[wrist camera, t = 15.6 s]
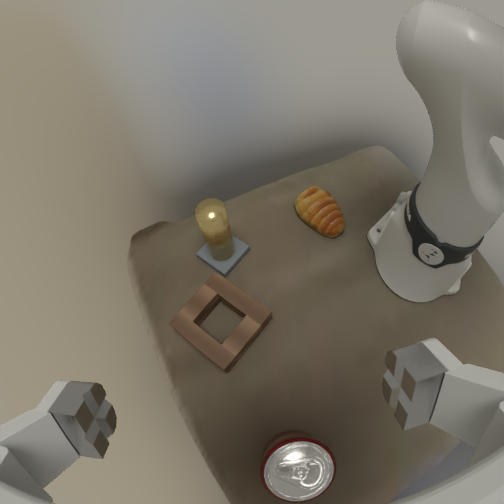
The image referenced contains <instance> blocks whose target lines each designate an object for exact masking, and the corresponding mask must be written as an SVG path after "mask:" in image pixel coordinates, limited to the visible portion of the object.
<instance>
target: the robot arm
mask: <svg viewBox="0 0 504 504" xmlns="http://www.w3.org/2000/svg"><path fill="white" fill-rule="evenodd" d="M396 49H397V55H398V59H399V62H400V65H401V67H402V70H403V72H404V74H405V76H406V77H407V79H408V80H409V81H410V83H411V84H412V85H413V86H414V88H415V89H416V90H417V92H418V93H419V95H420V96H421V98H422V100H423V102H424V104H425V106H426V108H427V111H428V114H429V116H430V120H431V124H432V129H433V135H434V136H433V149H432V154H431V157H430V160H429V163H428V166H427V169H426V172H425V174H424V176H423V178H422V181H421V182H420V183H419V184H418V185H417V186H416V187H415V188H414V190H413V191H408V192H407V193H406V192H404V191H402V192H401V194H400V195H399V197H398V198H397V200H396V202H397V203H395V204H394V206H393V207H392V208H391V209H390V210H389V211H388V212H387V213H386V214H385V215H384V216H383V217H382V218H381V219H380V220H379V221H378V222H377V223H376V224H375V225H374V226H373V227H372V228H371V229H370V230H369V232H368V234H367V238H368V240H369V242H370V244H371V246H372V248H373V249H374V253H375V259H376V265H377V268H378V271H379V273H380V275H381V277H382V279H383V280H384V282H385V283H386V285H387V286H388V287H389V288H390V289H391V290H392V291H393V292H395V293H396V294H397V295H399V296H400V297H402V298H404V299H407V300H409V301H413V302H428V301H432V300H434V299H436V298H438V297H439V296H442V295H452V294H455V293H457V291H458V290H459V289H460V282H461V277H462V276H463V275H464V274H465V273H466V271H467V270H468V269H469V268H470V267H471V265H472V262H471V259H472V254H473V253H474V252H475V251H476V250H477V248H478V247H479V245H480V243H481V242H482V240H483V238H484V235H485V234H486V232H487V231H488V230H489V229H490V228H491V227H492V225H493V224H494V223H495V222H496V220H497V219H498V218H499V217H500V215H501V214H502V213H503V212H504V166H503V164H502V162H501V160H500V159H499V157H498V156H497V154H496V153H495V151H494V150H493V148H492V147H491V145H490V143H489V140H490V138H491V137H492V136H497V137H499V138H502V139H504V27H502V26H500V25H498V24H496V23H495V22H493V21H491V20H489V19H487V18H485V17H483V16H481V15H479V14H477V13H475V12H473V11H471V10H468V9H464V8H461V7H457V6H454V5H450V4H446V3H441V2H436V1H431V0H425V1H422V2H420V3H418V4H416V5H415V6H413V7H412V8H411V9H410V10H409V11H408V12H407V13H406V14H405V15H404V17H403V18H402V20H401V22H400V24H399V27H398V31H397V36H396ZM377 231H379V232H380V233H379V232H377ZM385 365H386V366H387V367H388V370H387V371H386V373H385V374H384V375H383V382H382V387H383V394H384V397H385V400H386V401H387V403H388V405H389V406H391V407H393V408H396V411H395V417H396V419H397V421H398V422H399V424H400V426H401V427H402V429H403V431H405V430H408V429H411V428H414V427H416V426H419V425H422V424H425V423H428V422H430V424H432V425H434V426H436V427H437V428H439V429H441V430H443V431H445V432H447V433H449V434H450V435H452V436H454V437H456V438H458V439H460V440H462V441H464V442H465V443H467V444H469V445H471V446H473V447H475V448H477V449H476V451H475V452H474V454H473V455H472V457H471V459H470V461H469V463H468V466H469V467H468V468H466V469H464V470H463V471H461V472H459V473H457V474H455V475H453V476H451V477H449V478H447V479H445V480H443V481H441V482H439V483H437V484H435V485H432V486H430V487H428V488H426V489H423V490H421V491H419V492H416V493H414V494H411V495H409V496H407V497H404V498H401V499H398V500H395V501H393V502H390V503H387V504H504V373H501V372H497V371H494V370H490V369H486V368H482V367H479V366H475V365H472V364H465V365H463V364H462V363H461V362H460V361H459V360H458V359H457V358H456V357H455V356H454V355H453V354H452V353H451V352H450V351H449V350H448V349H447V348H446V347H445V346H444V345H443V344H441V343H440V342H439V341H438V340H437V339H436V338H429V339H426V340H423V341H420V342H418V343H416V344H412V345H409V346H406V347H402V348H399V349H395V350H391V351H388V352H387V354H386V358H385ZM105 396H106V393H105V390H104V389H103V386H102V385H101V384H99V383H92V382H80V381H68V380H58V381H56V382H55V383H54V385H53V386H52V387H51V389H50V390H49V391H48V393H47V394H46V395H45V397H44V398H43V399H42V401H41V402H40V403H39V405H38V406H37V407H36V409H35V410H32V409H31V410H29V411H27V412H25V413H23V414H22V415H20V416H18V417H16V418H14V419H12V420H10V421H8V422H7V423H4V424H3V425H1V426H0V504H54V503H53V500H52V498H51V496H50V495H49V494H48V493H47V492H46V491H44V489H43V488H44V487H46V486H47V485H48V484H49V483H50V482H52V481H53V480H54V479H55V478H56V477H58V476H59V475H60V474H61V473H62V472H63V471H64V470H66V469H67V468H68V467H69V466H70V465H71V464H73V463H74V462H75V461H76V460H77V459H78V458H80V456H85V457H91V458H99V459H103V458H104V455H105V453H106V450H107V448H108V446H109V442H108V439H107V438H108V437H109V436H110V435H112V434H113V433H114V431H115V428H116V414H115V410H114V408H113V406H112V405H111V404H110V403H109V402H108V401H107V400H105Z"/></svg>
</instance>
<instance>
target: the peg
mask: <svg viewBox="0 0 504 504" xmlns="http://www.w3.org/2000/svg"><path fill="white" fill-rule="evenodd" d="M195 216H196V219H197V221H198V224H199V227H200V229H201V232H202V234H203V237H204V239H205V242H206V245H207V247H208V250H209V252H210V255H211V257H212V258H213V259H215V260H217V261H226V260H228V259H230V258H231V257H232V256H233V254H234V252H235V245H234V241H233V237H232V233H231V229H230V225H229V221H228V217H227V213H226V209H225V205H224V203H223V202H222V201H220V200H218V199H214V198H211V199H206V200H204V201H202V202H200V203H199V204H198V205H197V207H196V209H195Z"/></svg>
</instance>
